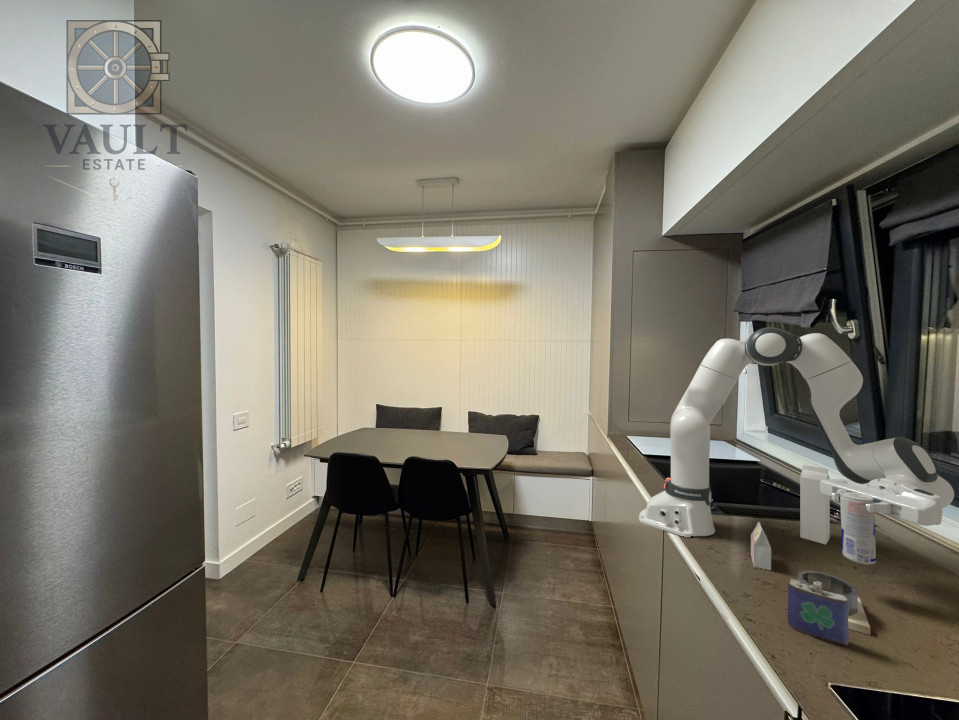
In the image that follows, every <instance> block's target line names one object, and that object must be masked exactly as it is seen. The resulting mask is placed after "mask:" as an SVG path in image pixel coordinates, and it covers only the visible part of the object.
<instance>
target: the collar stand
mask: <svg viewBox="0 0 959 720" xmlns="http://www.w3.org/2000/svg"><path fill="white" fill-rule="evenodd" d="M790 581H794V582H798V581H800V582H801V584H806V585H808V586H810V585H814V582H816V581H818V582H821V583H822V588H821V589H822V590H823V591H827V592H831V593H835V594H840V595H843V596H844V597H846V598H847V599H848V630H853V631H855V632H859V633H862V634H865V635H869V636H871V626H870V624H869V621H868V618H867V615H866V612H865V610H864V606H863V605H862V601H861V598H860V597H859V594H858V591H857V588H856V587H854V586H853V585H852V584H850V583H849V582H848V581H846V580H844V579H843V578H840V577H838V576H835V575H832V574H829V573H826V572H821V571H817V570H815V571H814V570H803V571H800V572H798V573H797V579H793V578H790Z"/></svg>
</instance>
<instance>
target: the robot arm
mask: <svg viewBox="0 0 959 720" xmlns="http://www.w3.org/2000/svg"><path fill="white" fill-rule="evenodd" d="M781 363H783V364H784V363H788V364H790V365H793V367H795V368H796V369H797V370H798V371H799V373H800V374H801V376H802V377H803V379H804V380H805V381H806V383H807V385H808V387H809V389H810V394H811V395H810V397H809V399H808V406H809V408H810V411H811V413H812V416H813V418H814V420H815V423H817V426H818V427H819V429H820V432H821V434H822V435H823V438H824V440H825V442H826V444H827V446H828V448H829V450H830V451H831V454H832V458H833V462H834V464H835V467H836V469H837V470H838V472H839V473H840V474H841V475H842V476H843V477H845V479H841V478H838V479H837V478H830V479H824V480H821V481H820V491H821V493H822V494H824V495H827V496H830V498H831V499H832V501H834V502H839V503H840V496H841V495H840V493H841V492H852V493H859V494H864V495H867V496H870V497H872V498H873V502H874V503H871V504H870V503H869V504H866V511H868V512H874V513H881V514H882V515H885V516H887V517H892V518H893V517H894V518H897V519H900V520H903V521H905V522H909V523H913V524H916V525H919V526H927V527H929V526H939V525H941V524H942V519H943V509H944V508H946V507H948V506H949V505H950V504H952V502H953V500H954V499H955V491H954V489H953V487H952V485H951V483H949V481H948V480H946V479H945V478H943V477H941V475H939V470H938V467H937V464H936V461H935V459H934V458H933V456H932V455H931V453H930V452H929V451H928V450H927V449H926V448H924V447H923V446H922V445H921V444H919V443H918V442H915V441H914V440H911V439H909V438H906V437H903V436H898V437H892V438H888V439H882V440H878V441H874V442H873V441H872V442H868V443H863V444H856V443H854V442H853V440H852V439H851V437H850V435H849V433H848V431H847V429H846V427H845V425H844V423H843V421H842V419H841V416H840V412H841V409H842V408H843V406H845V405H846V404H847V403H849V402H850V401H851V400H852V399H853V398H854V397H855V396H857V395H858V393H860V391H861V389H862V386H863V384H864V383H863V382H864V377H863V375H862V372H861V371H860V369H859V367H858V366H856V364H855V363H854V362H853V360H852V359H851V358H850V357H849V356H848V355H847V353H846V352H845V351H844V350H843V349H842V348H841V347H840V346H838V344H837V343H836V342H834V341H833V340H832V339H831V338H829V337H828V336H827V335H825V334H824V333H823V334H822V333H820V332H813V333H807V334H805V335H802V336H798V335H795V334H793V333H791V332H788V331H787V330H784V329H781V328H779V327H770V326H767V327H763V328H762V327H761V328H759V329H758V330H755V331H754V332H752V334H750V335H749V336H748V337H747V338H746V339H744V340H737V339H733V338H720V339H719V340H717V341H716V342H715V343H714V344H713V345H712V347H711V348H710V349H709V350H708V351H707V353H706V354H705V355H704V358H703V359H702V361H701V363H700V364H699V367H698V368H697V370H696V372H695V373H694V376H693V378H692V379H691V381H690V383H689V385H688V386H687V389H686V390H685V392H684V394H683V395H682V397H681V399H680V401H679V403H678V404H677V406H676V408H675V409H674V411H673V413H672V415H671V419H670V425H669V427H670V432H669V433H670V439H669V441H670V477H666V478H665V480H664V483H663V484H664V485H663V488H664V490H663V491H661V492H659V493H657V494H655V495H653V496H652V497H651V498H649V500H647V504H646V507H645V508H643V509H642V510H641V511H640V513H639V515H638V520H639V522H640V523H641V524H644V525H646V526H649V527H652V528H656V529H659V530H662V531H665V532H669V533H671V534H674V535H677V536H681V537H683V536H684V538H691V536H693V537H707V536H708V537H709V536H712V535H714V534H715V532H716V529H715V526H714V523H713V518H712V512H711V503H712V491H711V490H712V489H711V488H712V487H711V485H710V453H711V452H710V450H711V449H710V448H711V425H710V424H711V423H712V421H713V419H714V418H715V416H716V415H717V414H718V412H719V410H720V409H721V408H722V407H723V405H724V404H725V403H726V401H727V399H728V397H729V395H730V393H731V392H732V390H733V388H734V387H735V385H736V383H737V381H738V380H739V377H740V376H741V374H742V372H743V371H744V369H745V368H746V367H747V366H748V365H749V364H752V365H759V366H765V367H766V366H769V367H770V366H775V365H778V364H781Z"/></svg>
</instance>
